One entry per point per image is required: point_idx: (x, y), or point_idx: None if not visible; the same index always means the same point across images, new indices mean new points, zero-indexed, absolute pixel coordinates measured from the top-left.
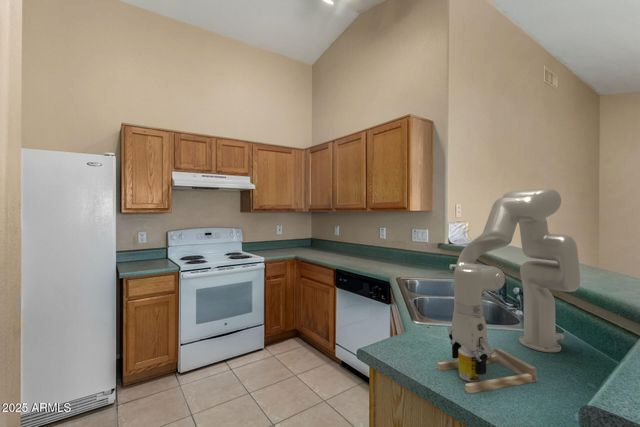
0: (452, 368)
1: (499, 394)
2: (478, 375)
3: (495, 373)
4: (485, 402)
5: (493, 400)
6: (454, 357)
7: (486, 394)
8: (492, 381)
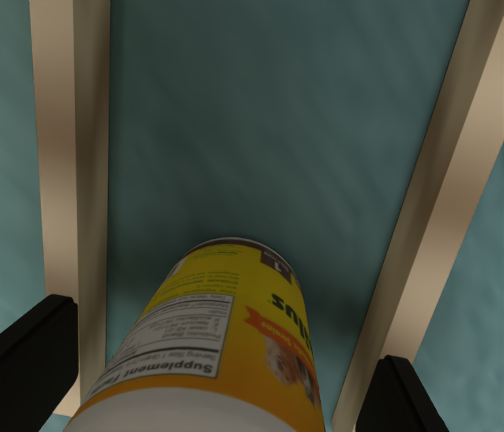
0: (105, 299)
1: (468, 288)
2: (302, 299)
3: (280, 30)
4: (456, 416)
5: (476, 369)
6: (72, 380)
7: (418, 353)
8: (428, 298)
